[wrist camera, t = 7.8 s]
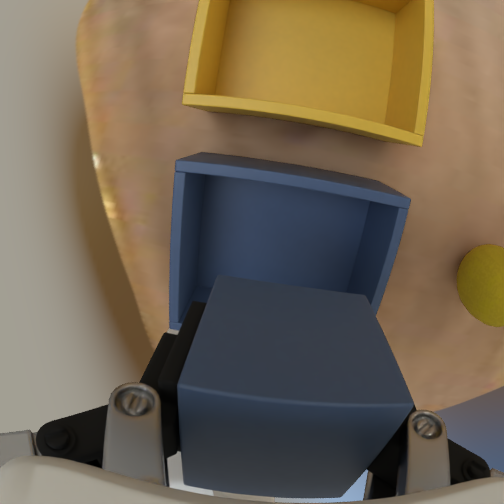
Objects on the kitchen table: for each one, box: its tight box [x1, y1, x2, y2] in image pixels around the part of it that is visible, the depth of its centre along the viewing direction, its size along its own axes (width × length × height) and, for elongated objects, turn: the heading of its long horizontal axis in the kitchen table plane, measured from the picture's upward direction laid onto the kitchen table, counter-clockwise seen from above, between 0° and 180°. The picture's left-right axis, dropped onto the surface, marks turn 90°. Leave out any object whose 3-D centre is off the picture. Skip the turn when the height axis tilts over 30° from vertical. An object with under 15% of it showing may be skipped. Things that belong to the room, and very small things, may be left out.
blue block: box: [177, 275, 414, 498], centre depth 9 cm, size 5×5×5 cm
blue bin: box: [169, 152, 411, 331], centre depth 19 cm, size 10×12×6 cm
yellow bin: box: [182, 0, 434, 147], centre depth 14 cm, size 10×12×6 cm
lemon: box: [457, 244, 504, 327], centre depth 18 cm, size 6×6×8 cm
